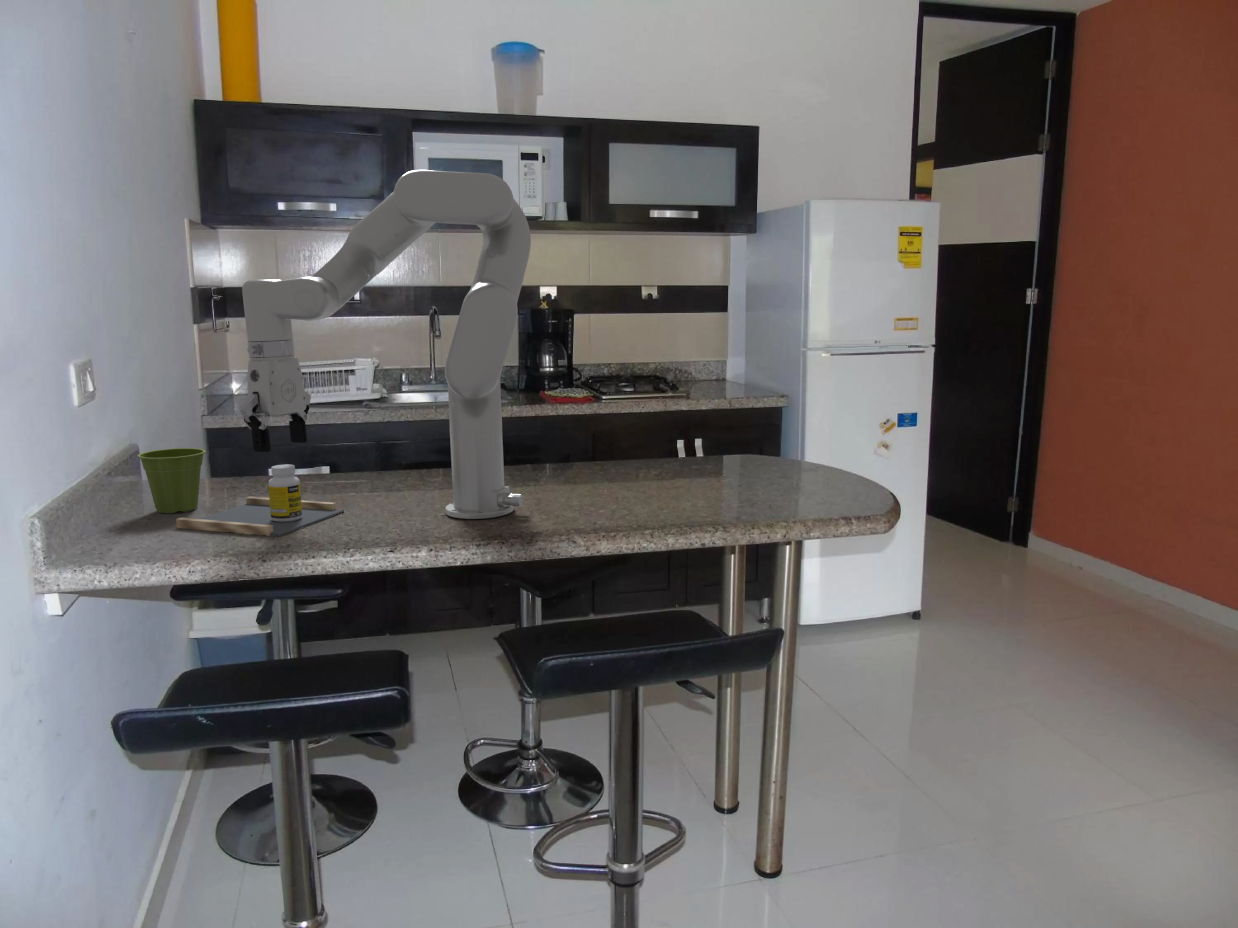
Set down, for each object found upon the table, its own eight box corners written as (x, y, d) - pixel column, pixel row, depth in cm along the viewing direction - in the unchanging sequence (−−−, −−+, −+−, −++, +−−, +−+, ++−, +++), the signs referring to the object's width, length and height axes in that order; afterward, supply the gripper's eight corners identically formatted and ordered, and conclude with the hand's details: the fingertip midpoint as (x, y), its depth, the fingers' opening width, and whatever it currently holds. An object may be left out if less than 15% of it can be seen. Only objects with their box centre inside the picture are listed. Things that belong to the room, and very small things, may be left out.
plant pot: (202, 515, 173) (195, 456, 171) (134, 518, 172) (127, 459, 169) (218, 501, 185) (212, 446, 183) (155, 504, 183) (149, 448, 181)
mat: (344, 512, 174) (343, 509, 174) (280, 536, 157) (279, 533, 157) (249, 504, 181) (249, 503, 181) (178, 527, 164) (178, 525, 164)
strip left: (273, 534, 159) (272, 525, 158) (268, 535, 158) (268, 526, 157) (182, 526, 165) (181, 517, 165) (177, 527, 164) (176, 519, 164)
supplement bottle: (292, 523, 164) (288, 469, 163) (265, 522, 165) (260, 468, 164) (308, 515, 170) (304, 463, 168) (281, 515, 171) (277, 463, 169)
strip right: (336, 510, 175) (335, 502, 175) (332, 512, 174) (331, 504, 174) (251, 504, 181) (250, 496, 181) (246, 505, 180) (246, 497, 180)
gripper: (254, 354, 153) (264, 456, 156) (320, 347, 169) (329, 439, 172) (218, 355, 155) (229, 454, 158) (287, 347, 171) (295, 438, 174)
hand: (281, 446), depth 165 cm, fingers open, 9 cm apart
